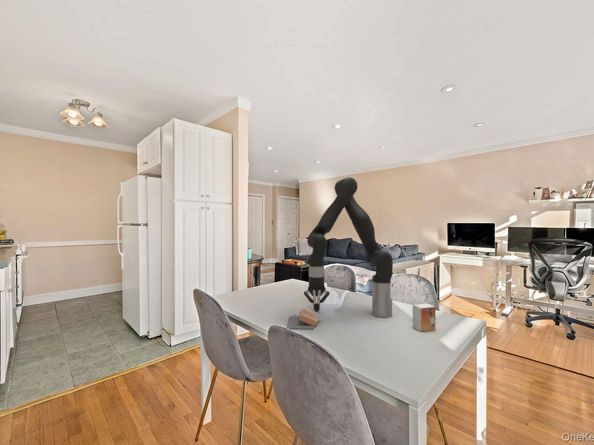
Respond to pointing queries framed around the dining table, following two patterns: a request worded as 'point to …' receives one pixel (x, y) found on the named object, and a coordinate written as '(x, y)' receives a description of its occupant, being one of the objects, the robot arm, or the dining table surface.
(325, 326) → the dining table surface
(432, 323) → the small box
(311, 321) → the tile
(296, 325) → the felt mat
